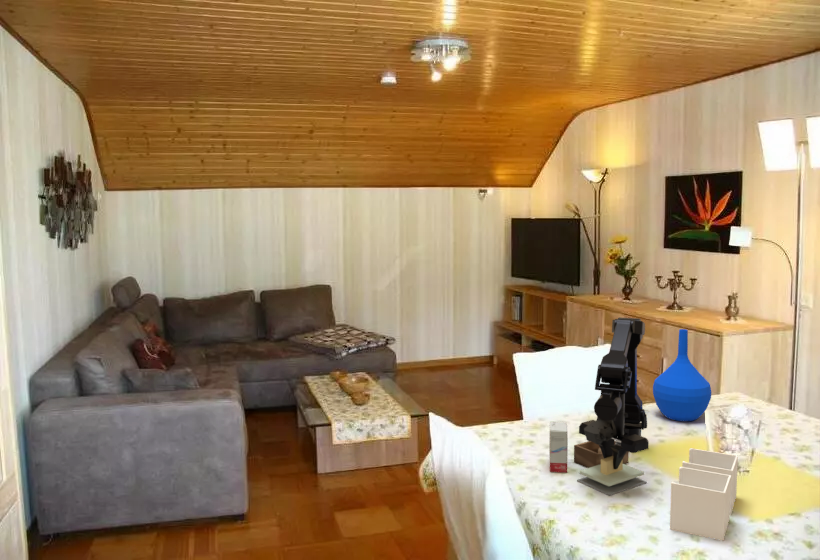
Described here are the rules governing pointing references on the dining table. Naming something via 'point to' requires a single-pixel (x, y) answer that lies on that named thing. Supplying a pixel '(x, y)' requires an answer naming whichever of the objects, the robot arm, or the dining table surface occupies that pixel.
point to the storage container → (704, 494)
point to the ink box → (558, 447)
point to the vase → (682, 387)
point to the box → (591, 454)
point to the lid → (611, 472)
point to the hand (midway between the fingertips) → (612, 467)
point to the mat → (614, 488)
